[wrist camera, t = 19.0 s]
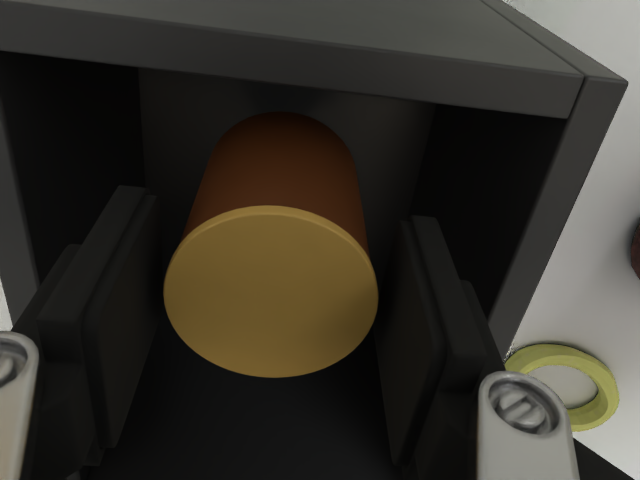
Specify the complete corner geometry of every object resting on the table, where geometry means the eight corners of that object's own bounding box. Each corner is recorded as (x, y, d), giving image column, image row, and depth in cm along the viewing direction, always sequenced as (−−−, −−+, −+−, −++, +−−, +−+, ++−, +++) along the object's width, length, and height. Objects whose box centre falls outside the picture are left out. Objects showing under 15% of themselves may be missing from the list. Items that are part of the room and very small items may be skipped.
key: (430, 468, 35) (437, 499, 33) (521, 332, 28) (536, 363, 26) (529, 484, 36) (541, 515, 34) (639, 358, 29) (660, 388, 28)
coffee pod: (206, 98, 13) (158, 201, 9) (371, 118, 13) (399, 226, 9) (204, 237, 15) (166, 370, 11) (345, 251, 16) (359, 385, 12)
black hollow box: (110, -65, 18) (-77, -10, 9) (484, -12, 19) (631, 80, 10) (139, 299, 27) (56, 503, 18) (393, 321, 28) (431, 522, 19)
